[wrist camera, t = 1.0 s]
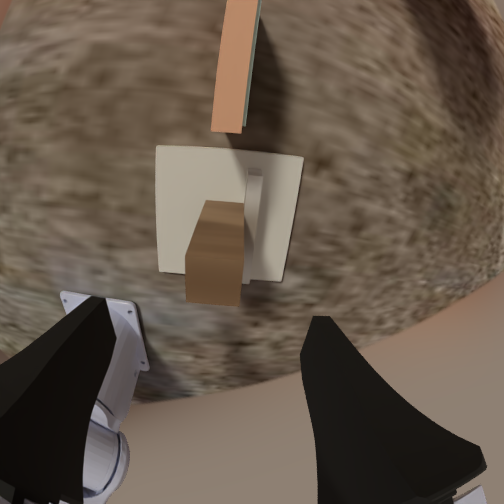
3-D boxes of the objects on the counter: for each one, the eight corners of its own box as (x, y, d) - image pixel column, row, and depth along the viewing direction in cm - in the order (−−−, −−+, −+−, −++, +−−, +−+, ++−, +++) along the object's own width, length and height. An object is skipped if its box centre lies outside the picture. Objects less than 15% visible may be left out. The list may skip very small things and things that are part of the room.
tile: (244, 125, 15) (244, 133, 10) (222, 124, 15) (210, 131, 10) (259, 9, 12) (266, -33, 6) (236, 8, 11) (233, -35, 6)
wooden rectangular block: (248, 267, 20) (251, 341, 13) (203, 263, 19) (187, 336, 13) (260, 169, 16) (272, 209, 10) (208, 164, 16) (184, 201, 10)
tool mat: (280, 277, 21) (281, 281, 20) (160, 267, 20) (159, 271, 20) (302, 157, 16) (303, 158, 16) (158, 145, 16) (156, 146, 15)
